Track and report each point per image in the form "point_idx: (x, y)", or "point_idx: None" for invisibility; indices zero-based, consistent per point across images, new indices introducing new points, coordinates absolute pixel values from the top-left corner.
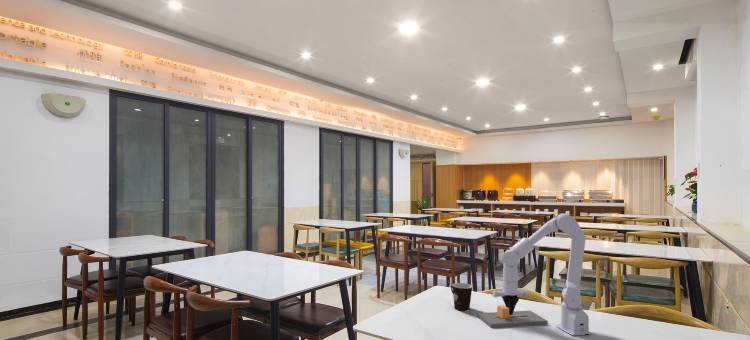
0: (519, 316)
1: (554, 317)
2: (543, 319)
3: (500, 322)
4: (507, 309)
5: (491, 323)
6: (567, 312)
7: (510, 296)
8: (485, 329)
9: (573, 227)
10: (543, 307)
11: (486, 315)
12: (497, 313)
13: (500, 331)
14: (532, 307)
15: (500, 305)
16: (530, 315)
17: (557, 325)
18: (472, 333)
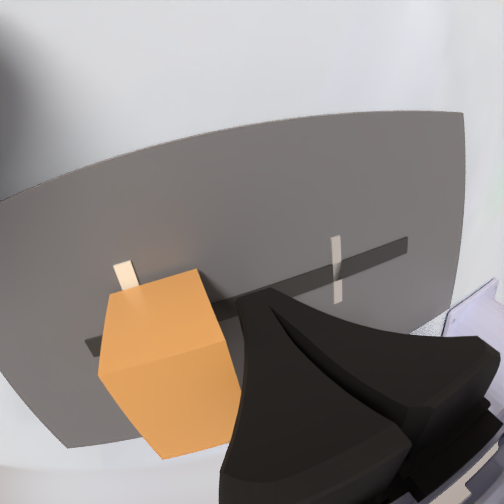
0: (343, 275)
1: (498, 180)
2: (446, 292)
3: (130, 428)
4: (229, 432)
5: (69, 443)
6: (493, 406)
7: (394, 486)
8: (44, 441)
9: None
10: (498, 33)
11: (3, 298)
12: (109, 311)
13: (126, 455)
14: (468, 10)
15: (153, 362)
16: (428, 228)
17: (452, 320)
18: (7, 465)
